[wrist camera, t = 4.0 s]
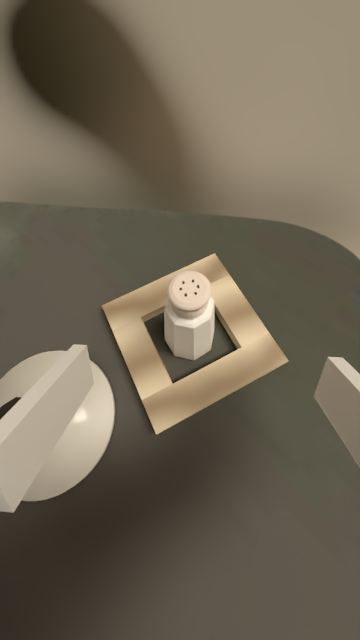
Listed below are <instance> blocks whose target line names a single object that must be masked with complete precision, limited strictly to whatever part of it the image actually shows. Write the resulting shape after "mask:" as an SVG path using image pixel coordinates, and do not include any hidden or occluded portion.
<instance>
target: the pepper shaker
mask: <svg viewBox="0 0 360 640" xmlns="http://www.w3.org/2000/svg"><path fill="white" fill-rule="evenodd" d="M167 293H168V298H167V302H166V305H165V310H164V331H165V341H166V343H167V344H168V346H169V348H170V349H171V351H172V353H173V354H174V356H177V357H181V358H185V359H189V360H196V359H197V358H199V357H200V356H202V355H204V354H205V353H207V352H208V351H210V350H211V345H212V340H213V335H214V313H215V304H214V300H213V299H212V297H211V293H212V288H211V284H210V282H209V280H208V279H207V278H206V277H205V276H204V275H203V274H201V273H199V272H196V271H183V272H180V273H178V274H176V275H175V276H174V277H173V278H172V279H171V281H170V282H169V284H168V288H167Z"/></svg>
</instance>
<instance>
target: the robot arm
mask: <svg viewBox="0 0 360 640" xmlns="http://www.w3.org/2000/svg"><path fill="white" fill-rule="evenodd" d="M93 384H94V380H93V375H92V370H91V365H90V359H89V354H88V349H87V345H75V344H74V345H73V346H72V347H71V348H70V349H69V350H68V351H67V352H66V353H65V354H64V355H63V356H62V357H61V358H60V359H59V360H58V361H57V362H56V363H55V364H54V365H53V366H52V367H51V368H50V369H49V370H48V371H47V372H46V373H45V374H44V375H43V376H42V377H41V378H40V379H39V381H38V382H37V383H36V384H35V385H34V386H33V387H32V388H31V389H30V390H29V391H28V392H27V393H26V394H25V395H24V396H23V397H15V398H14V399H12V400H10V401H9V402H7V403H6V404H4V405H2V406H1V407H0V511H2V512H12V513H14V511H15V510H16V508H17V506H18V505H19V503H20V502H21V500H22V498H23V497H24V495H25V494H26V492H27V490H28V489H29V487H30V486H31V484H32V482H33V481H34V479H35V478H36V476H37V474H38V473H39V471H40V469H41V468H42V466H43V465H44V463H45V461H46V460H47V458H48V457H49V455H50V453H51V452H52V450H53V449H54V447H55V445H56V444H57V442H58V441H59V439H60V437H61V436H62V434H63V433H64V431H65V429H66V428H67V426H68V425H69V423H70V421H71V420H72V418H73V417H74V415H75V413H76V412H77V410H78V409H79V407H80V405H81V404H82V402H83V400H84V399H85V397H86V396H87V394H88V392H89V391H90V389H91V388H92V386H93ZM314 398H315V399H316V401H317V402H318V404H319V405H320V407H321V409H322V410H323V412H324V413H325V415H326V416H327V418H328V419H329V421H330V423H331V424H332V426H333V427H334V429H335V430H336V432H337V433H338V435H339V436H340V438H341V440H342V441H343V443H344V444H345V446H346V447H347V449H348V450H349V452H350V454H351V455H352V457H353V458H354V460H355V461H356V463H357V464H358V466H359V467H360V374H359V373H358V372H357V371H356V370H355V369H354V368H353V367H352V366H351V365H350V364H349V363H348V362H347V361H345V360H344V359H343V358H338V357H327V360H326V363H325V366H324V369H323V372H322V374H321V377H320V380H319V383H318V386H317V389H316V392H315V395H314Z"/></svg>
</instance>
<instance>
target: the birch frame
mask: <svg viewBox="0 0 360 640" xmlns="http://www.w3.org/2000/svg"><path fill="white" fill-rule="evenodd" d="M183 271H196V272H199V273H201V274H203V275H204V276H205V277H206V278H207V279H208V280H209V282H210V284H211V288H212V293H211V297H212V299H213V300H214V304H215V313H216V315H217V317H218V318H219V320H220V322H221V323H222V325H223V326H224V328H225V330H226V331H227V333H228V335H229V336H230V338H231V340H232V341H233V343H234V344H235V346H236V348H237V349H238V350H236V351H234V352H232V353H230V354H228V355H226V356H224V357H222V358H221V359H219V360H217V361H215V362H213V363H211V364H209V365H207V366H206V367H204V368H202V369H200V370H198V371H196V372H194V373H192V374H190V375H189V376H187V377H185V378H183V379H181V380H179V381H177V382H175V383H173V382H172V380H171V378H170V376H169V374H168V372H167V370H166V368H165V366H164V364H163V362H162V360H161V357H160V355H159V353H158V351H157V349H156V347H155V345H154V343H153V341H152V339H151V337H150V335H149V332H148V330H147V328H146V326H145V324H144V322H145V321H147V320H149V319H151V318H153V317H155V316H157V315H160V314H162V313H164V310H165V305H166V302H167V298H168V293H167V288H168V284H169V282H170V281H171V279H172V278H173V277H174V276H175V275H176V274H178V273H180V272H183ZM102 307H103V310H104V312H105V314H106V317H107V319H108V321H109V324H110V326H111V329H112V331H113V333H114V336H115V338H116V340H117V343H118V345H119V348H120V350H121V352H122V355H123V357H124V359H125V362H126V364H127V367H128V369H129V371H130V374H131V376H132V378H133V381H134V383H135V386H136V388H137V390H138V393H139V395H140V397H141V400H142V402H143V405H144V407H145V409H146V412H147V414H148V416H149V419H150V421H151V424H152V426H153V428H154V431H155V433H156V435H157V434H159V433H160V432H162V431H164V430H166V429H168V428H169V427H171V426H173V425H175V424H177V423H178V422H180V421H182V420H184V419H186V418H187V417H189V416H191V415H193V414H195V413H196V412H198V411H200V410H202V409H204V408H205V407H207V406H209V405H211V404H213V403H214V402H216V401H218V400H220V399H222V398H223V397H225V396H227V395H229V394H231V393H232V392H234V391H236V390H238V389H240V388H241V387H243V386H245V385H247V384H249V383H250V382H252V381H254V380H256V379H258V378H259V377H261V376H263V375H265V374H267V373H268V372H270V371H272V370H274V369H276V368H277V367H279V366H281V365H283V364H285V363H286V362H288V360H287V358H286V357H285V355H284V354H283V352H282V351H281V349H280V348H279V346H278V345H277V344H276V342H275V341H274V339H273V338H272V336H271V335H270V333H269V332H268V330H267V329H266V328H265V326H264V325H263V323H262V322H261V320H260V319H259V317H258V316H257V314H256V313H255V311H254V310H253V309H252V307H251V306H250V304H249V303H248V301H247V300H246V298H245V297H244V295H243V294H242V292H241V291H240V290H239V288H238V287H237V285H236V284H235V282H234V281H233V279H232V278H231V276H230V275H229V273H228V272H227V271H226V269H225V268H224V266H223V265H222V263H221V262H220V260H219V259H218V257H217V256H216V254H212V255H210V256H208V257H206V258H204V259H202V260H199V261H197V262H195V263H193V264H191V265H189V266H186V267H184V268H182V269H180V270H178V271H176V272H174V273H171V274H169V275H167V276H165V277H163V278H161V279H158V280H156V281H154V282H152V283H150V284H148V285H145V286H143V287H141V288H139V289H137V290H135V291H133V292H130V293H128V294H126V295H124V296H122V297H120V298H117V299H115V300H113V301H111V302H109V303H107V304H104V305H102Z"/></svg>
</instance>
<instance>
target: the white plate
mask: <svg viewBox="0 0 360 640" xmlns="http://www.w3.org/2000/svg"><path fill="white" fill-rule="evenodd" d="M66 352H67V351H49V352H44V353H40V354H37V355H34V356H32V357H30V358H28V359H26V360H24V361H22V362H21V363H19V364H18V365H16V366H15V367H13V368H12V369H11V370H10V371H9V372H8V373H6V374H5V376H4V377H3V378H2V379H1V380H0V407H1V406H2V405H4V404H6V403H7V402H9V401H10V400H12V399H14V398H15V397H23V396H24V395H25V394H26V393H27V392H28V391H29V390H30V389H31V388H32V387H33V386H34V385H35V384H36V383H37V382H38V381H39V379H40V378H41V377H42V376H43V375H44V374H45V373H46V372H47V371H48V370H49V369H50V368H51V367H52V366H53V365H54V364H55V363H56V362H57V361H58V360H59V359H60V358H61V357H62V356H63V355H64V354H65V353H66ZM90 365H91V370H92V375H93V380H94V384H93V386H92V388H91V389H90V391H89V392H88V394H87V396H86V397H85V399H84V400H83V402H82V404H81V405H80V407H79V409H78V410H77V412H76V413H75V415H74V417H73V418H72V420H71V421H70V423H69V425H68V426H67V428H66V429H65V431H64V433H63V434H62V436H61V437H60V439H59V441H58V442H57V444H56V445H55V447H54V449H53V450H52V452H51V453H50V455H49V457H48V458H47V460H46V461H45V463H44V465H43V466H42V468H41V469H40V471H39V473H38V474H37V476H36V478H35V479H34V481H33V482H32V484H31V486H30V487H29V489H28V490H27V492H26V494H25V495H24V497H23V498H22V500H23V501H40V500H46V499H49V498H52V497H55V496H58V495H60V494H62V493H64V492H66V491H67V490H69V489H70V488H72V487H73V486H75V485H76V484H78V483H79V482H80V481H81V480H83V479H84V478H85V477H86V476H87V475H88V474H89V473H90V472H91V471H92V470H93V469H94V468H95V466H96V465H97V464H98V462H99V461H100V460H101V458H102V456H103V455H104V453H105V451H106V449H107V447H108V445H109V443H110V440H111V437H112V434H113V430H114V425H115V418H116V402H115V397H114V392H113V389H112V386H111V384H110V382H109V379H108V378H107V376H106V375H105V373H104V372H103V371H102V369H101V368H100V367H99V366H98V365H96V364H95V363H94V362H93V361H91V360H90Z"/></svg>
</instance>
